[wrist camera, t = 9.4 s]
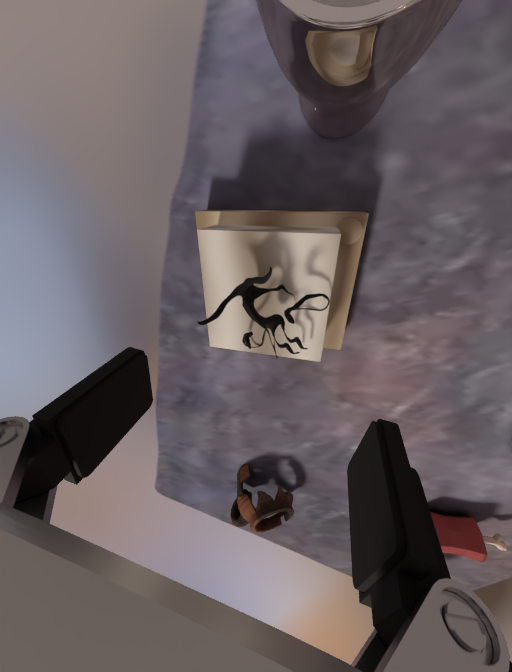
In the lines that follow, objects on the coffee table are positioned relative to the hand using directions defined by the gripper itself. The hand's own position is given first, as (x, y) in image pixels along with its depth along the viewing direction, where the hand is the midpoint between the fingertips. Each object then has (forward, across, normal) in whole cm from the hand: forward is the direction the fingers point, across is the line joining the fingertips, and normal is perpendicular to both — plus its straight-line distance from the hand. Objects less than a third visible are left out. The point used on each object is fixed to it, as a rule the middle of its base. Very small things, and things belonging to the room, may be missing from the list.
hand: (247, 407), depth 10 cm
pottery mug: (+18, -1, +36) cm, 41 cm away
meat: (+18, -28, +30) cm, 45 cm away
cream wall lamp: (+18, +2, 0) cm, 18 cm away
